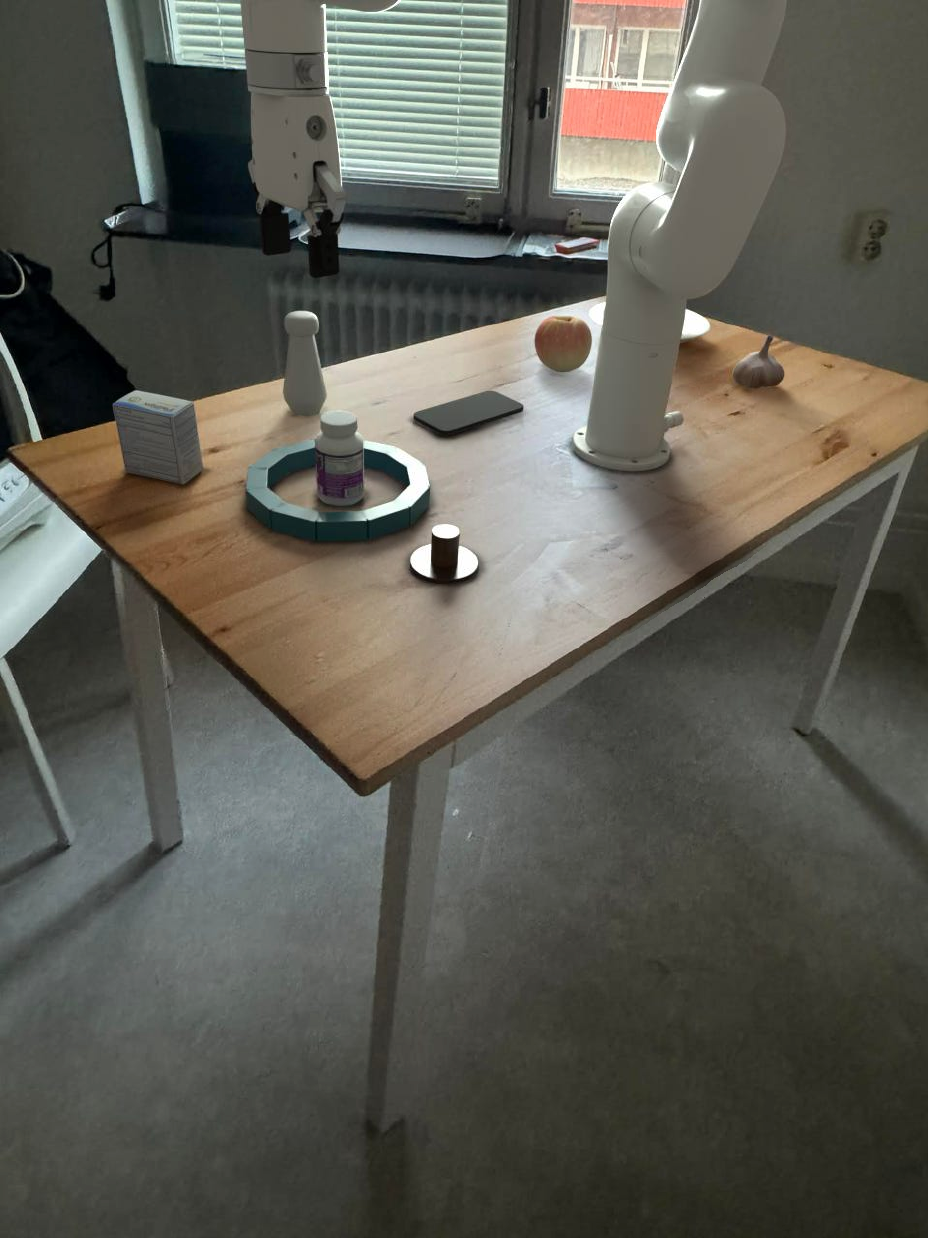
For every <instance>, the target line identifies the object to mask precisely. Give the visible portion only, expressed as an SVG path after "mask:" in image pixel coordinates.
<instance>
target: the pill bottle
mask: <svg viewBox="0 0 928 1238" xmlns="http://www.w3.org/2000/svg"><path fill="white" fill-rule="evenodd" d="M358 426H359V425H358V416H357V415H356V414H355V413H353V412H352V411H347V410H342V409H341V410H340V409H337V410H329V411H327V412H324V413H322V414H321V415H320V417H319V429H320V432H318V434H316V437H315V438H314V439H315V454H316V465H315V473H316V475H315V476H316V477H315V478H316V491H317V496H318V498H319V500H321V502H323V503H324V504H326V505H329V506H335V507H348V506H349V507H350V506H352V505H355V504H357V503H358V502H360V501H361V500H362V499H363V498H364V496H365V466H364V442H363V440H364V438H363V436H362V434H361V433H359V431H358V428H359V427H358Z"/></svg>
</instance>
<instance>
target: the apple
mask: <svg viewBox="0 0 928 1238" xmlns="http://www.w3.org/2000/svg"><path fill="white" fill-rule="evenodd" d="M592 336H593V335H592V332H591V329H590V326H589V325H588V323H586V322H585V321H584V320H582V318H579V317H577V316H571V315H570V316H569V315H552V316H548V317H547V318H545V319H543V320H542V322H540V324H539V325H538V327H537V329H536V330H535V333H534V339H533V340H534V342H533V343H534V348H535V353H536V355H537V357H538V360H539V361H540V362H541V363H542V364H543V365H544V366H545V367H546V368H548V369H549V370H551V371H553V372H556V373H569V372H572V371H574V370H577V369H579V368H581V366H583V365H584V364H585V362H586V361H587V359H588V358H589V356H590V353H591V350H592V345H593V344H592V343H593V337H592Z"/></svg>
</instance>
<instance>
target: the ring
mask: <svg viewBox="0 0 928 1238" xmlns="http://www.w3.org/2000/svg"><path fill="white" fill-rule="evenodd" d="M315 439H316V438H314V439H313V438H312V439H311V438H310V439H308V440H303V441H300V442H294V443H291V444H288V445H284V446H280V447H276V448H273V449H271V450H270V451H269V452H267V453H266V454H265V455H263V456H262V457H260V458H259V459H257V460H256V461H254V462H253V463H252V464H250V465H248V467H247V474H246V482H245V483H246V484H245V495H246V496H245V497H246V504H247V505H246V506H247V510H248V511H249V512H251V513H252V514H253V515H254V516H255V517H256V518H257V519H258V520H259V521H260V522H262V523H263V524H264V525H265V526H266V527H268V528H269V529H270V530H272V531H274V532H278V533H282V534H286V535H289V536H293V537H297V538H301V539H304V540H308V541H312V542H318V543H321V542H322V543H323V542H324V543H325V542H326V543H327V542H357V541H358V542H359V541H360V542H361V541H371V540H374V539H377V538H380V537H382V536H385V535H388V534H391V533H395V532H398V531H400V530H403V529H406V528H409V527H411V526H412V525H413V524H414V522H415V521H417V520H418V518H419V517H420V516H421V515H422V514H423V513H424V512H425V510H426V509H427V508H428V507H429V506H430V499H431V484H430V479H429V477H428V472H427V468H426V465H425V464H424V463H423V462H421V461H420V460H419V459H416V458H415V457H414V456H412V455H410V454H409V453H407V452H406V451H404V450H403V449H401V448H400V447H398V446H392V445H389V444H384V443H381V442H376V441H371V440H366V439H363V442H364V468H370V469H375V470H377V471H382V472H386V473H387V474H389V475H390V476H392V477H393V478H395V479H396V480H398V481H399V482H401V483H402V484H403V485H405V486H406V488H405V489H404V490H403V491H402V492H401V493H400V494H399V495H398V496H397V497H396V498H395V499H394V500H392V501H389V502H385V503H383V504H379V505H376V506H373V507H369V508H367V509H363V510H355V511H354V510H351V511H349V510H347V511H345V510H343V511H319V510H316V509H311V508H306V507H303V506H300V505H296V504H292V503H288V502H285V501H284V500H283V499H282V498H280V496H278V495H277V494H276V493H275V492H274V491H272V490H271V489H270V488H271V487H272V486H273V485H275V484H276V483H277V482H278V481H280V480H281V479H282V478H284V477H285V476H286V475H288V474H289V473H294V472H296V471H301V470H305V469H308V468H311V467H316V454H315Z"/></svg>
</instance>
